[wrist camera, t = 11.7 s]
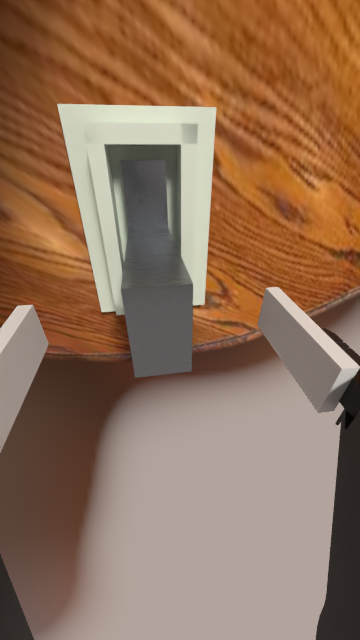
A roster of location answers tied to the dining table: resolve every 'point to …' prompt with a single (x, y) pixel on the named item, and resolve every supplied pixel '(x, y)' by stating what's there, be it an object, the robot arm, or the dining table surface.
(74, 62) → the dining table surface
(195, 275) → the rectangular frame
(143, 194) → the grey l-shaped block
